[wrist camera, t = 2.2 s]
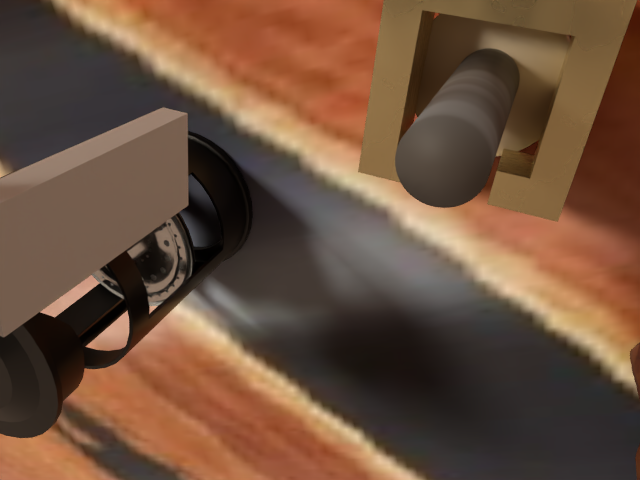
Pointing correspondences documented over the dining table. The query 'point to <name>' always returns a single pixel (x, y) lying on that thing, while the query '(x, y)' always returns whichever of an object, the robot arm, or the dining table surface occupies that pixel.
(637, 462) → the wooden figurine
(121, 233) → the robot arm
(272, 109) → the dining table surface
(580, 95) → the brass C-link
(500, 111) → the peg stand
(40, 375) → the french press
